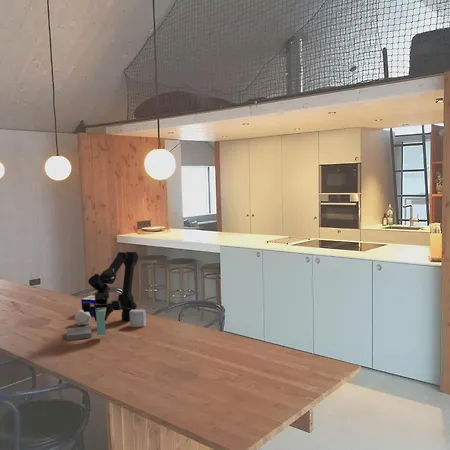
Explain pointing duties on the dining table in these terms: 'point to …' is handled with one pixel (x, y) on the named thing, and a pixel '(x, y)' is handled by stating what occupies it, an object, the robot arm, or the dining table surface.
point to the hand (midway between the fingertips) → (100, 320)
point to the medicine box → (137, 318)
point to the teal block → (100, 321)
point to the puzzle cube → (89, 299)
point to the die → (82, 317)
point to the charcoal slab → (79, 333)
